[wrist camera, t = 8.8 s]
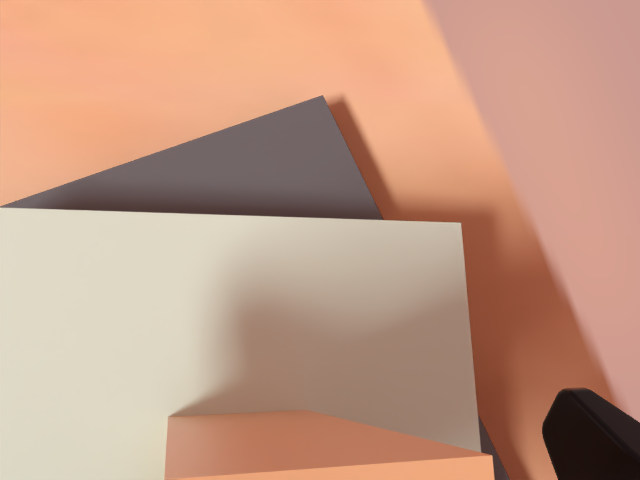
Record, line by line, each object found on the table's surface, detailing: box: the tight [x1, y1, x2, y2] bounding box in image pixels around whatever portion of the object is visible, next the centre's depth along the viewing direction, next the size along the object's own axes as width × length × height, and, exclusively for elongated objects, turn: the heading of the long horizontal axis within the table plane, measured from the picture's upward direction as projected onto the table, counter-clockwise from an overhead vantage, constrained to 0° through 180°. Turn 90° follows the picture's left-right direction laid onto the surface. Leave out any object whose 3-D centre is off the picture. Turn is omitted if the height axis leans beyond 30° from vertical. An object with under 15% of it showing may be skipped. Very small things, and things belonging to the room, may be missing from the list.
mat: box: [0, 95, 510, 480], centre depth 15 cm, size 16×13×1 cm
